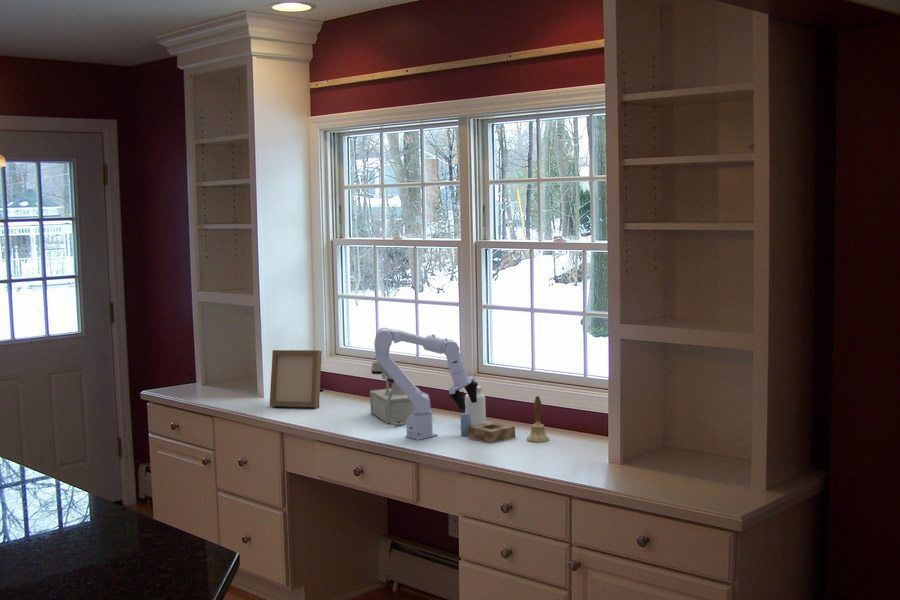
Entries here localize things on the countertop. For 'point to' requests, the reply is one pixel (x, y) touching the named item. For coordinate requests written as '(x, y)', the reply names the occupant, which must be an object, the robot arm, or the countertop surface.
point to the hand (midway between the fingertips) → (468, 405)
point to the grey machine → (390, 400)
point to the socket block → (491, 432)
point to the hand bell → (537, 425)
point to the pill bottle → (476, 408)
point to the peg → (465, 423)
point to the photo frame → (295, 378)
